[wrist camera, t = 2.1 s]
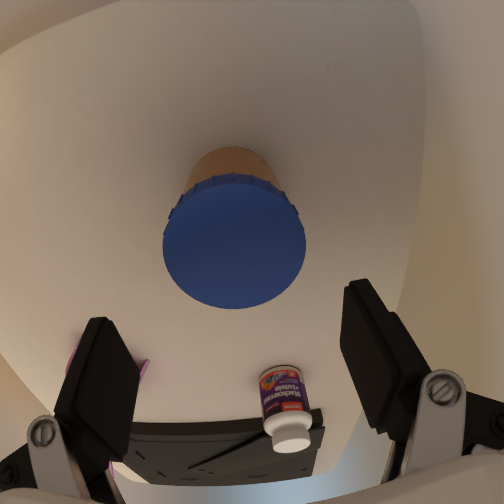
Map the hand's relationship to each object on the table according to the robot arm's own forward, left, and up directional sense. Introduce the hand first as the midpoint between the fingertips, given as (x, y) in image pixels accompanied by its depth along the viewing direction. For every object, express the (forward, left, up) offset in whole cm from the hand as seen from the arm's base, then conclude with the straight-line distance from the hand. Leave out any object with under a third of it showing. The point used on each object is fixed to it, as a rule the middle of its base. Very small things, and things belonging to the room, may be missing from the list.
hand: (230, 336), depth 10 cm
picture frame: (+12, +49, -15) cm, 53 cm away
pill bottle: (-2, +24, -15) cm, 29 cm away
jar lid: (0, 0, -6) cm, 6 cm away
